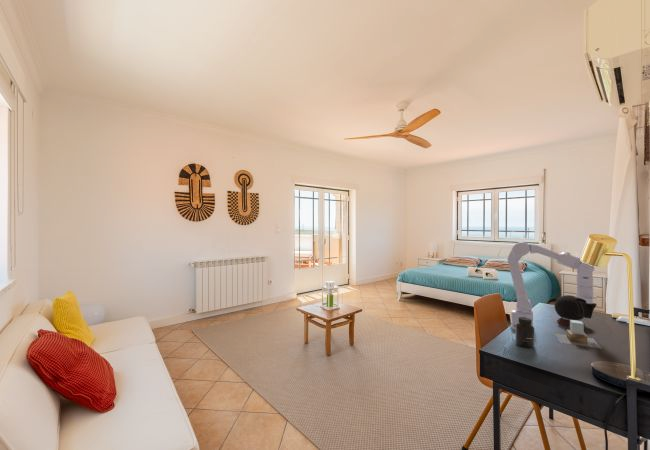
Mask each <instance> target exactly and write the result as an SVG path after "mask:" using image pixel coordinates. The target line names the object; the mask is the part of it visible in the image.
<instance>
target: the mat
mask: <svg viewBox="0 0 650 450" xmlns="http://www.w3.org/2000/svg"><path fill="white" fill-rule="evenodd" d="M555 336H556V338H557V339H558V341H559V343H560V344H561V343H562V344H566V345H567V344H568V345H575V346H581V347H582V346H583V347H588V348H590V347H591V348H595V349H596V348H597V349H602V346H600V344H598V342H596V340H595V339H594V338H592V337H587V344H583V343H576V342H570V341H569V339H568V338H567V334H561V333H555Z"/></svg>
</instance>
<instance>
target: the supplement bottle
mask: <svg viewBox="0 0 650 450" xmlns="http://www.w3.org/2000/svg"><path fill="white" fill-rule="evenodd" d="M518 322H519V323H517V324H516V330H515V345H516V346H517V347H519V348H522V349H534V348H535V332H534V330H535V327H534V325H533V326H532V325H531V324H532V320H531V319H530V318H526V317H519V318H518Z"/></svg>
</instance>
